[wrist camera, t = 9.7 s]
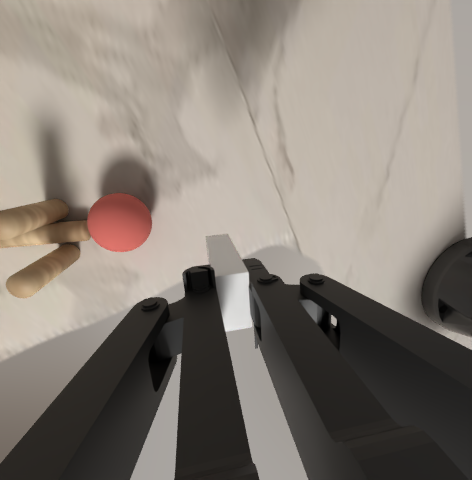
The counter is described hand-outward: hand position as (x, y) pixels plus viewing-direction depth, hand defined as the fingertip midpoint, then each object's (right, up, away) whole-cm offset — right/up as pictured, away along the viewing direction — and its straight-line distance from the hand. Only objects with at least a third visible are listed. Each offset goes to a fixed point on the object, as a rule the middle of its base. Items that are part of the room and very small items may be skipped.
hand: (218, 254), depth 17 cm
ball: (-11, +3, +9) cm, 14 cm away
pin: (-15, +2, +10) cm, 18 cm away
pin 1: (-18, +4, +10) cm, 21 cm away
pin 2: (-18, -1, +12) cm, 21 cm away
